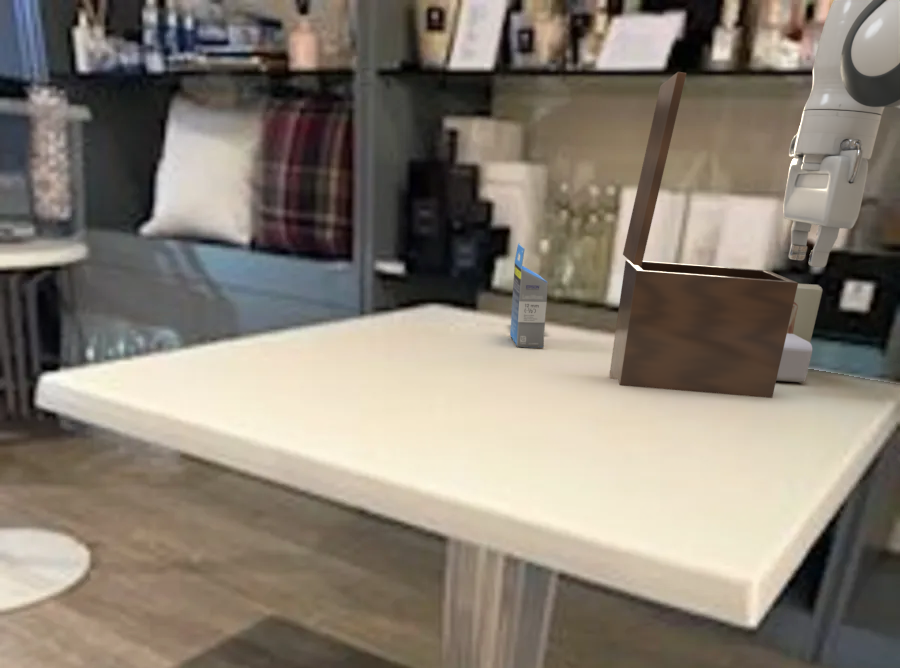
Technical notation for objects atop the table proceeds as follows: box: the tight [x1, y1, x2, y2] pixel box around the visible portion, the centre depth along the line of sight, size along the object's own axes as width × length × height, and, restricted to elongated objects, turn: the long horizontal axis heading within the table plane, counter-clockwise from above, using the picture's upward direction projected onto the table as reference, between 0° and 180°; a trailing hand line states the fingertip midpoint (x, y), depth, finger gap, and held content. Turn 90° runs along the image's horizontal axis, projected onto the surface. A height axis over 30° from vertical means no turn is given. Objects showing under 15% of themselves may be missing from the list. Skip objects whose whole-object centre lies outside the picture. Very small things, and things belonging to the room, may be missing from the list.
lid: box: [622, 71, 687, 266], centre depth 87 cm, size 16×13×1 cm
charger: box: [776, 333, 813, 383], centre depth 108 cm, size 5×9×15 cm
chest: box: [608, 259, 799, 399], centre depth 94 cm, size 16×13×13 cm
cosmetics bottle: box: [787, 283, 824, 343], centre depth 115 cm, size 5×4×10 cm
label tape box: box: [509, 242, 549, 349], centre depth 117 cm, size 9×4×12 cm, turn 2°
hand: (805, 263), depth 111 cm, fingers open, 8 cm apart
